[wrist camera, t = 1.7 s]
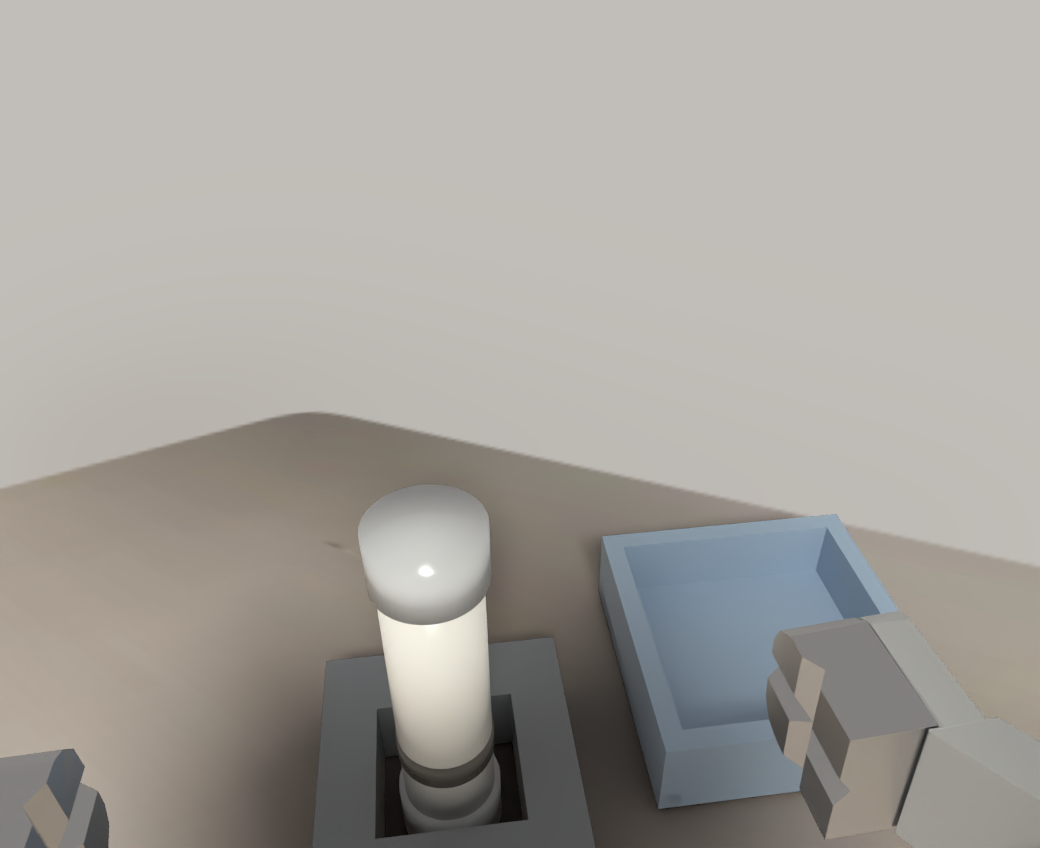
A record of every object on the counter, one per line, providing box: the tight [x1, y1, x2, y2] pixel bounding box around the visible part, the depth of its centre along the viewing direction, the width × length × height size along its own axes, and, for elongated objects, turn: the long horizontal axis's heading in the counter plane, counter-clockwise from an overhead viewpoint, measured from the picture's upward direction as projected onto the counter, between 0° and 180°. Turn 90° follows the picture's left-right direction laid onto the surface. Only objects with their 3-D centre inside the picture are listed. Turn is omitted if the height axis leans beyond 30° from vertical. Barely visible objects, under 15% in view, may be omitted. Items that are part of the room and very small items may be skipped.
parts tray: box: [599, 514, 899, 809], centre depth 35 cm, size 11×11×4 cm
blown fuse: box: [358, 484, 502, 835], centre depth 28 cm, size 4×4×14 cm
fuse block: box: [312, 637, 596, 848], centre depth 31 cm, size 9×10×3 cm
